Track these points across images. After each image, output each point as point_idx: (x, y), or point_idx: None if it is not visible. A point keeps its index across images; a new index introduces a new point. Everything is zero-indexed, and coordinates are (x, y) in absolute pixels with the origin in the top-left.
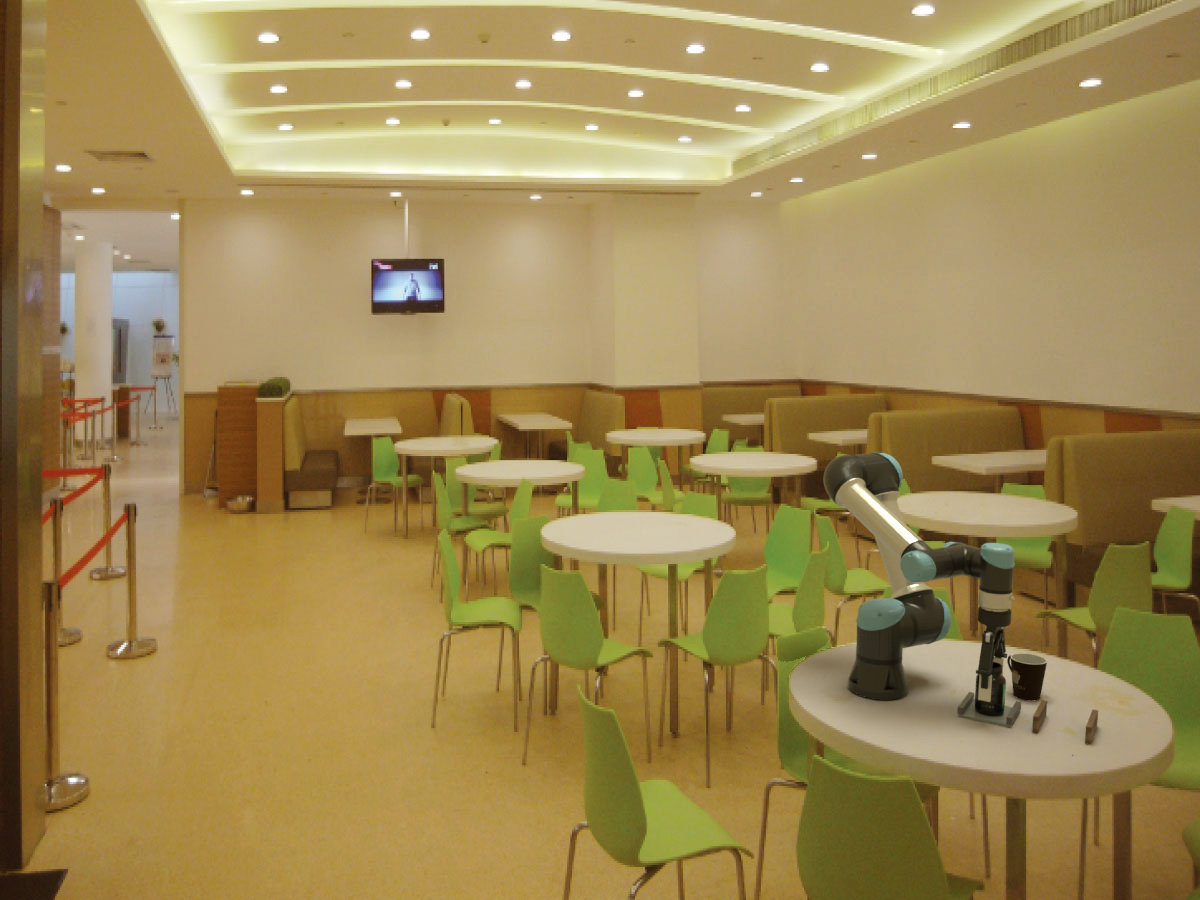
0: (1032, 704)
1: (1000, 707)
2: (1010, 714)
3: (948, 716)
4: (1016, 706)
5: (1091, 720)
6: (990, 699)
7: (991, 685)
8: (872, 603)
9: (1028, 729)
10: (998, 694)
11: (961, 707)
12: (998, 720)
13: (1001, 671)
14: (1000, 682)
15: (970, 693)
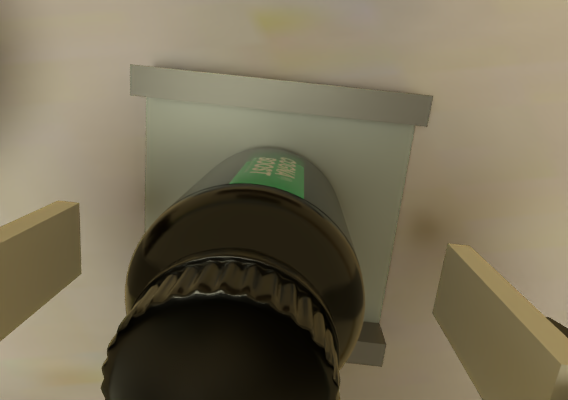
0: (9, 14)
1: (315, 171)
2: (375, 108)
3: (386, 368)
4: (221, 86)
5: None
6: (463, 249)
7: (497, 297)
8: None
9: (400, 5)
10: (336, 208)
11: (379, 351)
12: (374, 164)
13: (240, 263)
14: (328, 229)
15: None
